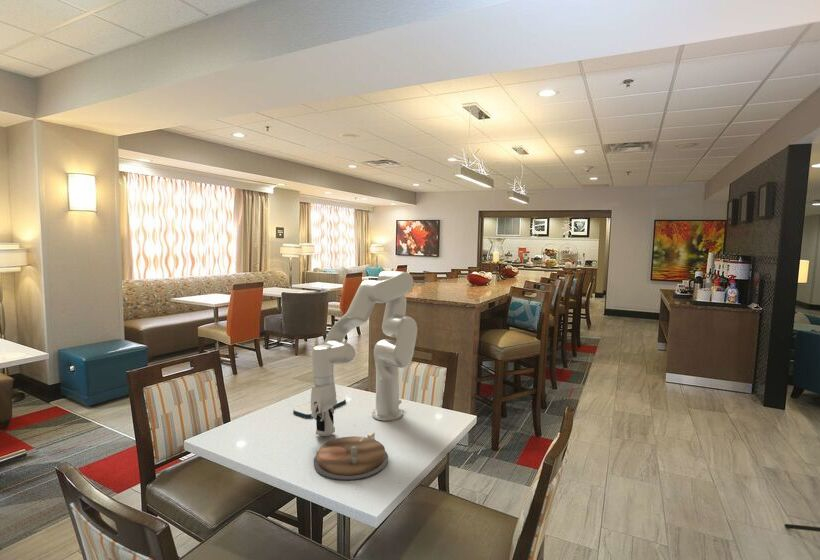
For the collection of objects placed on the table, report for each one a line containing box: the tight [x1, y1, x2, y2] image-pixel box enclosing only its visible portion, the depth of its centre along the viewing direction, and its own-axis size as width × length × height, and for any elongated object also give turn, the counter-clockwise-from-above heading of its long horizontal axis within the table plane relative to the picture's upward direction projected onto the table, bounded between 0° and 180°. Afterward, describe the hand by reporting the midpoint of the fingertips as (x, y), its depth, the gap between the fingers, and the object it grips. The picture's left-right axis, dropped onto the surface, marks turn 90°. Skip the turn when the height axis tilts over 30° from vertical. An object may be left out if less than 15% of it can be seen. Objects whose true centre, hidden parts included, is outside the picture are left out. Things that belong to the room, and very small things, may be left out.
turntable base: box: [313, 431, 389, 482], centre depth 141 cm, size 26×24×4 cm
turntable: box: [316, 435, 386, 475], centre depth 140 cm, size 22×22×7 cm
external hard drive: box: [292, 395, 347, 419], centre depth 186 cm, size 24×12×2 cm, turn 146°
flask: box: [315, 410, 336, 437], centre depth 158 cm, size 7×7×10 cm
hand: (325, 426), depth 159 cm, fingers closed on flask, 4 cm apart
